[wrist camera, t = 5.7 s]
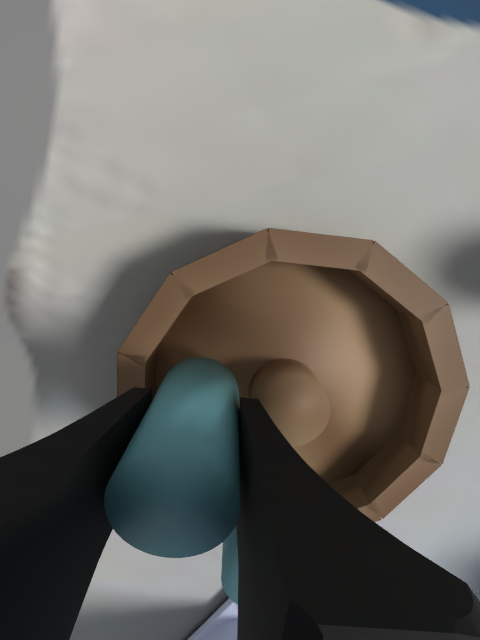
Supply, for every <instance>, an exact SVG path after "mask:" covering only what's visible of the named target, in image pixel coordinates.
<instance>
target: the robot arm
mask: <svg viewBox="0 0 480 640" xmlns="http://www.w3.org/2000/svg"><path fill="white" fill-rule="evenodd" d="M151 402H152V389H147V388H137V387H134V388H132V389H130V390H128V391H127V392H125V393H123V394H121V395H120V396H118V397H117V398H115V399H113V400H112V401H110V402H108V403H107V404H105V405H103V406H102V407H100V408H98V409H97V410H95V411H93V412H92V413H90V414H88V415H87V416H85V417H83V418H81V419H79V420H77V421H76V422H74V423H72V424H70V425H68V426H66V427H64V428H63V429H61V430H59V431H57V432H55V433H53V434H51V435H49V436H47V437H45V438H43V439H41V440H39V441H37V442H35V443H32V444H30V445H28V446H26V447H23V448H21V449H19V450H17V451H14V452H12V453H10V454H7V455H5V456H3V457H0V640H69V639H70V636H71V633H72V631H73V628H74V625H75V622H76V620H77V617H78V614H79V611H80V609H81V606H82V603H83V600H84V598H85V595H86V592H87V590H88V587H89V585H90V582H91V579H92V577H93V574H94V571H95V569H96V566H97V563H98V561H99V558H100V556H101V554H102V551H103V549H104V547H105V544H106V542H107V540H108V538H109V536H110V534H111V531H112V529H113V528H112V526H111V524H110V523H109V521H108V518H107V516H106V512H105V508H104V494H105V490H106V487H107V484H108V482H109V480H110V478H111V476H112V474H113V473H114V471H115V469H116V467H117V465H118V463H119V461H120V460H121V458H122V456H123V454H124V452H125V450H126V448H127V447H128V445H129V443H130V441H131V439H132V437H133V435H134V433H135V432H136V430H137V428H138V426H139V424H140V422H141V420H142V419H143V417H144V415H145V413H146V411H147V409H148V407H149V406H150V404H151ZM239 449H240V514H239V518H238V521H237V524H236V530H237V546H238V605H237V604H236V603H234V602H233V601H232V600H231V599H230V598H229V599H228V600H227V601H226V602H225V603H224V604H223V605H222V606H221V607H220V608H219V609H218V610H217V611H216V612H215V613H214V614H213V615H212V616H211V617H210V618H209V619H208V620H207V621H206V622H205V623H204V624H203V625H202V626H201V627H200V628H199V629H198V630H197V631H196V632H195V633H194V634H193V635H192V636H191V637H190V638H189V639H187V640H480V602H479V600H478V599H477V597H476V596H475V594H474V593H473V592H472V590H471V589H470V588H469V586H468V585H467V583H465V582H464V581H462V580H461V579H459V578H457V577H456V576H454V575H453V574H451V573H450V572H448V571H446V570H445V569H443V568H442V567H440V566H438V565H437V564H435V563H434V562H432V561H431V560H429V559H427V558H426V557H424V556H423V555H421V554H420V553H418V552H416V551H415V550H413V549H412V548H410V547H409V546H407V545H406V544H404V543H403V542H401V541H400V540H398V539H397V538H396V537H394V536H393V535H392V534H390V533H389V532H387V531H386V530H385V529H383V528H382V527H380V526H379V525H378V524H376V523H375V522H373V521H372V520H371V519H370V518H368V517H367V516H366V515H364V514H363V513H362V512H360V511H359V510H358V509H357V508H355V507H354V506H353V505H352V504H351V503H350V502H348V501H347V500H346V499H345V498H344V497H342V496H341V495H340V494H339V493H338V492H336V491H335V490H334V489H333V488H332V487H331V486H330V485H329V484H327V483H326V482H325V481H324V480H323V479H322V478H321V477H320V476H319V475H318V474H317V473H316V472H315V471H314V470H313V469H312V468H311V467H310V466H309V465H308V464H307V463H306V462H305V461H304V460H303V459H302V458H301V456H300V455H299V454H298V453H297V452H296V451H295V449H294V448H293V447H292V446H291V445H290V443H289V442H288V441H287V440H286V438H285V437H284V436H283V434H282V433H281V431H280V430H279V429H278V427H277V426H276V425H275V423H274V422H273V420H272V419H271V417H270V416H269V414H268V413H267V411H266V410H265V408H264V407H263V405H262V403H261V402H260V401H259V399H253V398H243V397H241V398H240V406H239Z"/></svg>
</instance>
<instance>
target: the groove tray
mask: <svg viewBox="0 0 480 640" xmlns="http://www.w3.org/2000/svg"><path fill="white" fill-rule="evenodd" d="M447 303H448V302H447V301H446V300H445V299H443V298H442V297H441V296H440V295H439V294H438V293H436V292H435V291H434V290H433V289H432V288H430V287H429V286H428V285H427V284H426V283H424V282H423V281H422V280H421V279H420V278H419V277H417V276H416V275H415V274H414V273H413V272H411V271H410V270H409V269H408V268H407V267H406V266H404V265H403V264H402V263H401V262H400V261H398V260H397V259H396V258H395V257H394V256H392V255H391V254H390V253H389V252H388V251H387V250H385V249H384V248H383V247H382V246H381V245H379V244H378V243H377V242H376V241H373V240H366V239H358V238H349V237H341V236H332V235H324V234H315V233H306V232H298V231H289V230H281V229H272V228H268V229H265V230H262V231H260V232H258V233H256V234H254V235H251V236H249V237H247V238H245V239H243V240H240V241H238V242H236V243H234V244H232V245H229V246H227V247H225V248H223V249H221V250H218V251H216V252H214V253H212V254H210V255H207V256H205V257H203V258H201V259H199V260H197V261H194V262H192V263H190V264H188V265H186V266H183V267H181V268H179V269H177V270H175V271H172V273H170V274H169V275H168V277H167V278H166V280H165V281H164V283H163V284H162V286H161V287H160V289H159V290H158V292H157V293H156V295H155V296H154V298H153V299H152V301H151V302H150V304H149V305H148V307H147V308H146V310H145V311H144V313H143V314H142V316H141V317H140V319H139V320H138V322H137V323H136V325H135V326H134V328H133V329H132V331H131V332H130V334H129V335H128V337H127V338H126V340H125V341H124V343H123V344H122V346H121V347H120V349H119V350H118V353H117V397H118V396H120V395H121V394H123V393H125V392H127V391H128V390H130V389H132V388H134V387H137V388H147V389H152V400H153V398H154V396H155V394H156V393H157V391H158V389H159V387H160V385H161V383H162V381H163V380H164V378H165V376H166V374H167V373H168V371H169V370H170V369H171V368H172V367H173V366H174V365H175V364H177V363H178V362H180V361H182V360H185V359H188V358H192V357H206V358H211V359H214V360H216V361H219V362H220V363H222V364H224V365H225V366H226V367H227V368H228V369H229V370H230V371H231V372H232V373H233V375H234V377H235V378H236V381H237V383H238V388H239V406H240V398H241V397H243V398H253V399H259V401H260V402H261V403H262V405H263V407H264V408H265V410H266V411H267V413H268V414H269V416H270V417H271V419H272V420H273V422H274V423H275V425H276V426H277V427H278V429H279V430H280V431H281V433H282V434H283V436H284V437H285V438H286V440H287V441H288V442H289V443H290V445H291V446H292V447H293V448H294V449H295V451H296V452H297V453H298V454H299V455H300V456H301V458H302V459H303V460H304V461H305V462H306V463H307V464H308V465H309V466H310V467H311V468H312V469H313V470H314V471H315V472H316V473H317V474H318V475H319V476H320V477H321V478H322V479H323V480H324V481H325V482H326V483H327V484H329V485H330V486H331V487H332V488H333V489H334V490H335V491H336V492H338V493H339V494H340V495H341V496H342V497H344V498H345V499H346V500H347V501H348V502H350V503H351V504H352V505H353V506H354V507H355V508H357V509H358V510H359V511H360V512H362V513H363V514H364V515H366V516H367V517H368V518H370V519H371V520H372V521H373V522H376V521H379V520H381V518H384V517H385V516H387V515H388V514H389V513H390V512H391V511H392V510H393V509H394V508H395V507H396V506H397V505H399V504H400V503H401V502H402V501H403V500H404V499H405V498H406V497H407V496H408V495H409V494H411V493H412V492H413V491H414V490H415V489H416V488H417V487H418V486H419V485H420V484H421V483H423V482H424V481H425V480H426V479H427V478H428V477H429V476H430V475H431V474H432V473H433V472H435V471H436V470H437V469H438V468H439V467H440V466H441V464H440V463H442V464H443V461H444V458H445V455H446V452H447V450H448V447H449V444H450V441H451V438H452V436H453V433H454V430H455V427H456V424H457V421H458V419H459V416H460V413H461V410H462V407H463V404H464V402H465V399H466V396H467V393H468V390H469V387H468V386H469V382H468V378H467V374H466V370H465V366H464V362H463V358H462V354H461V350H460V346H459V342H458V338H457V334H456V330H455V326H454V322H453V318H452V314H451V310H450V306H449V304H447Z"/></svg>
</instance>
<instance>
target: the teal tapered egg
mask: <svg viewBox="0 0 480 640" xmlns="http://www.w3.org/2000/svg"><path fill="white" fill-rule="evenodd" d="M104 508H105V512H106V516H107V518H108V521H109V523H110V524H111V526H112V528H113V529H114V530H115V532H116V533H117V534H118V535H119V536H120V537H121V538H122V539H123V540H125V541H126V542H127V543H128V544H130V545H132V546H133V547H135V548H137V549H139V550H141V551H143V552H146V553H149V554H152V555H156V556H161V557H168V558H182V557H190V556H195V555H199V554H202V553H204V552H207V551H209V550H211V549H213V548H215V547H216V546H218V545H219V544H221V543H222V542H223V541H224V540H225V539H226V538H227V537H228V536H229V535H230V534H231V533H232V531H233V529H234V528H235V526H236V524H237V521H238V518H239V514H240V449H239V388H238V383H237V381H236V378H235V377H234V375H233V373H232V372H231V371H230V370H229V369H228V368H227V367H226V366H225V365H224V364H222V363H220V362H219V361H216V360H214V359H211V358H206V357H192V358H188V359H185V360H182V361H180V362H178V363H177V364H175V365H174V366H173V367H172V368H171V369H170V370H169V371H168V373H167V374H166V376H165V378H164V380H163V381H162V383H161V385H160V387H159V389H158V391H157V393H156V394H155V396H154V398H153V400H152V402H151V404H150V406H149V407H148V409H147V411H146V413H145V415H144V417H143V419H142V420H141V422H140V424H139V426H138V428H137V430H136V432H135V433H134V435H133V437H132V439H131V441H130V443H129V445H128V447H127V448H126V450H125V452H124V454H123V456H122V458H121V460H120V461H119V463H118V465H117V467H116V469H115V471H114V473H113V474H112V476H111V478H110V480H109V482H108V484H107V487H106V490H105V494H104Z"/></svg>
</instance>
